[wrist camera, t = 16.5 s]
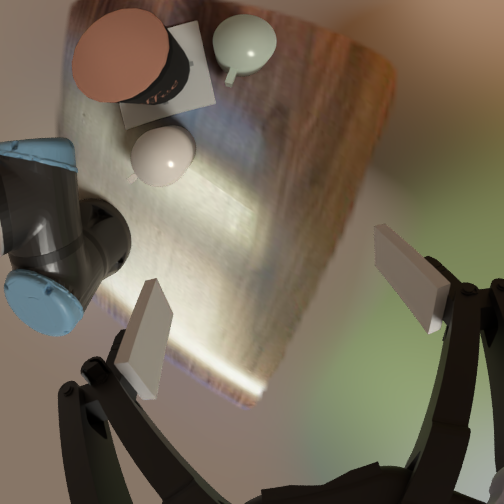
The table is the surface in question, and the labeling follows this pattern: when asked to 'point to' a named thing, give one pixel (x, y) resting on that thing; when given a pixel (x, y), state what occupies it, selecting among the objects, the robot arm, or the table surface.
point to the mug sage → (243, 45)
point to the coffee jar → (130, 60)
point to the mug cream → (162, 155)
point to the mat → (193, 92)
